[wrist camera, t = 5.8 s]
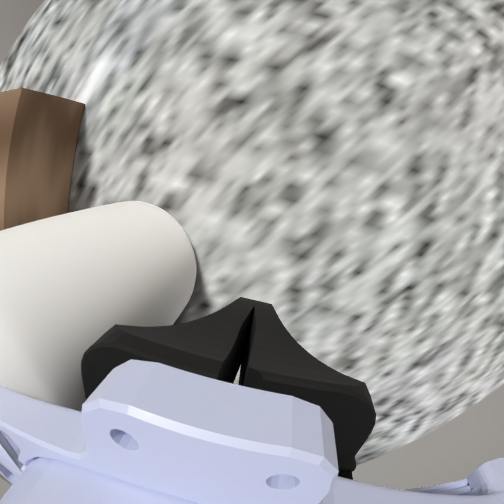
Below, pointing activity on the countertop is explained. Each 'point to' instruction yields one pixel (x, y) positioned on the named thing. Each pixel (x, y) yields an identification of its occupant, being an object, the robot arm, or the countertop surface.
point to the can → (84, 292)
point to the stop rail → (36, 155)
